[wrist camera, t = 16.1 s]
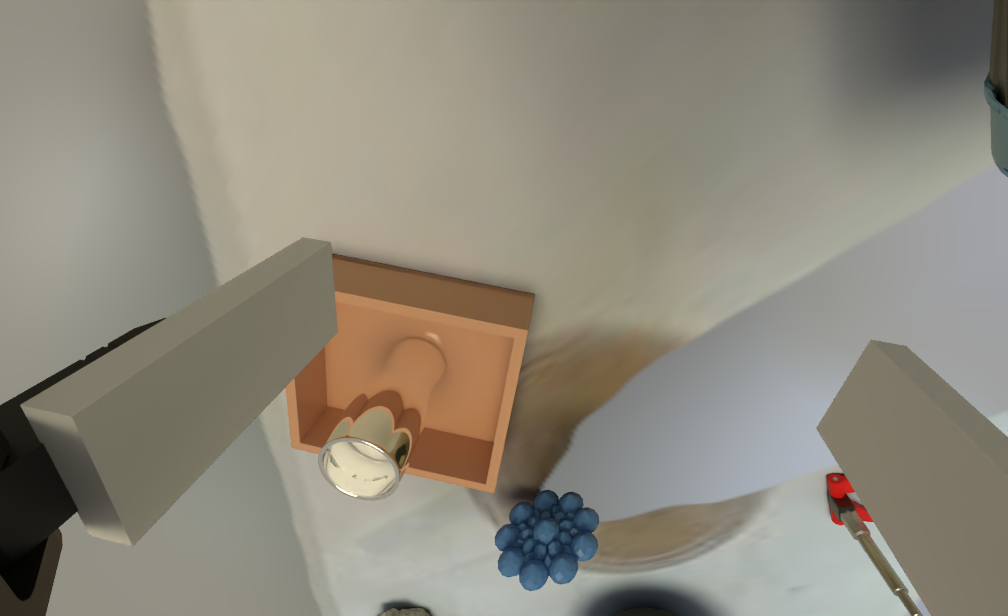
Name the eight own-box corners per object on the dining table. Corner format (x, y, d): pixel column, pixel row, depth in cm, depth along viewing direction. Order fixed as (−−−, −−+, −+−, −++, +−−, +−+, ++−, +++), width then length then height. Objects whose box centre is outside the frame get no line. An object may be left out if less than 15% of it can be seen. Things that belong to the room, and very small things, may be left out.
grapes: (508, 515, 59) (493, 612, 48) (500, 477, 56) (482, 572, 45) (599, 516, 56) (605, 618, 46) (596, 477, 53) (601, 576, 43)
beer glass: (451, 339, 46) (401, 446, 33) (448, 393, 49) (402, 509, 36) (385, 328, 47) (310, 429, 33) (387, 382, 50) (319, 493, 37)
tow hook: (922, 450, 46) (822, 467, 48) (1045, 573, 35) (907, 588, 37) (920, 506, 50) (827, 520, 52) (1032, 634, 38) (907, 645, 40)
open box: (534, 294, 44) (528, 330, 37) (503, 444, 53) (494, 493, 47) (316, 250, 45) (274, 278, 38) (323, 405, 54) (291, 447, 48)
